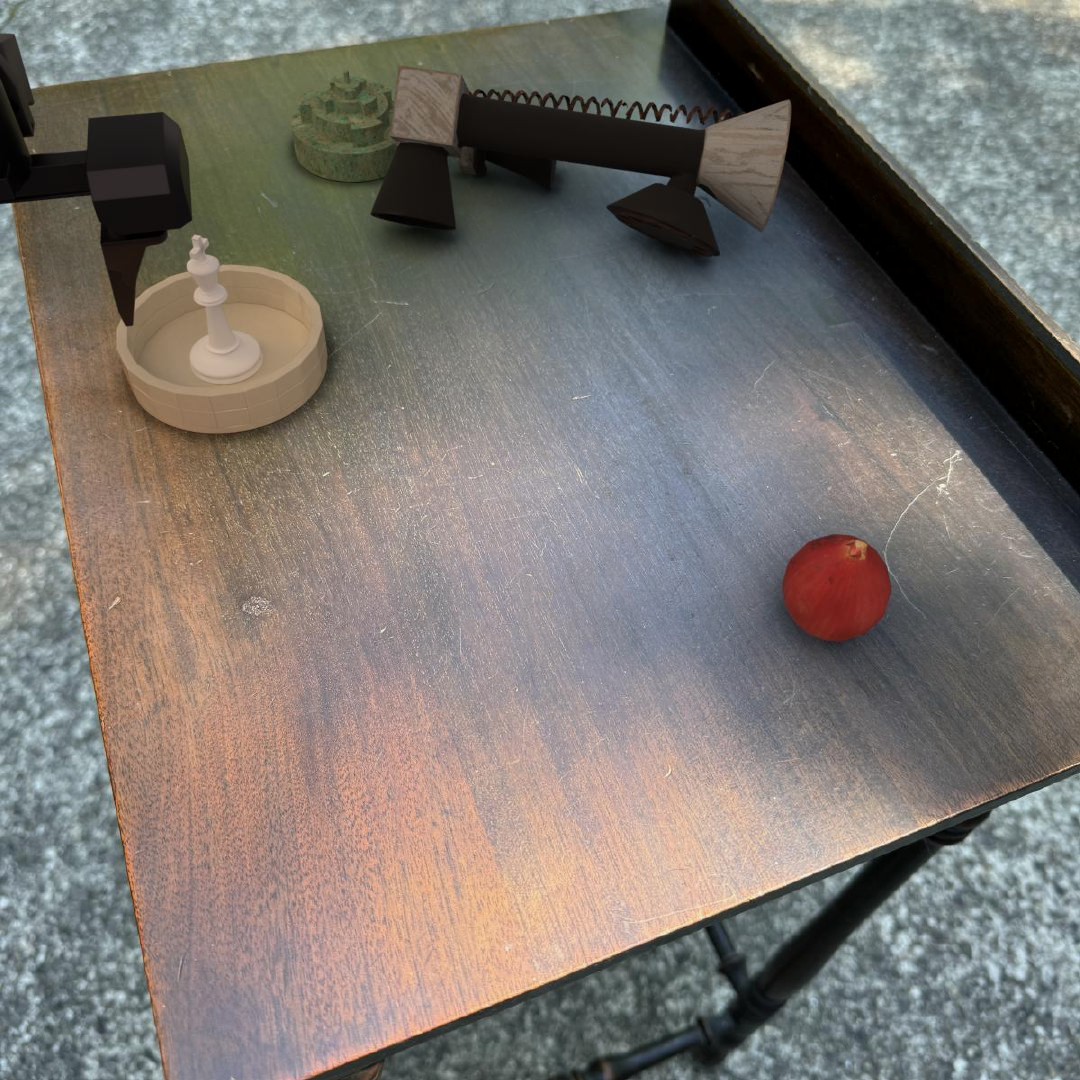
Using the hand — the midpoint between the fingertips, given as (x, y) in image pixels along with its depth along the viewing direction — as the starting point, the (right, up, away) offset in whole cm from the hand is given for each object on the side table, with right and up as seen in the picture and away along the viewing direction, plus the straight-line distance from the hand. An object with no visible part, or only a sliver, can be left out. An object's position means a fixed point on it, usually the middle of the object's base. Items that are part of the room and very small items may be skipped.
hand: (37, 332), depth 53 cm
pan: (+4, +1, +18) cm, 19 cm away
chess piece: (+4, +2, +18) cm, 18 cm away
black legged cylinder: (+29, +15, +31) cm, 45 cm away
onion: (+42, -16, +7) cm, 46 cm away
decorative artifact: (+10, +23, +36) cm, 44 cm away
